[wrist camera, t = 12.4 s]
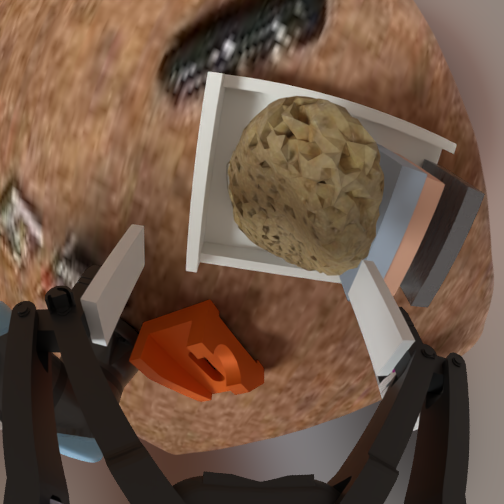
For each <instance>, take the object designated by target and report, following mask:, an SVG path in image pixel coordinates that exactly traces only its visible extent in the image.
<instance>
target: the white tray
mask: <svg viewBox="0 0 504 504" xmlns="http://www.w3.org/2000/svg"><path fill="white" fill-rule="evenodd" d="M293 96H306V97H312V98H316V99H318V98H320V99H325V100H329V101H330V102H332V103H334V104H337V105H340V106H342V107H345V108H346V110H347V111H348V112H349V114H350V115H351V116H352V117H354V118H357V119H358V120H359V121H360V123H361V124H362V126H363V127H364V128H365V129H366V131H367V132H368V133H369V134H370V135H371V137H372V138H373V139H374V140H375V141H376V143H377V144H379V145H382V146H383V147H385V148H387V149H388V150H390V151H392V152H394V153H397V154H400V155H401V156H403V157H405V158H406V159H408V160H410V161H411V162H413V163H414V164H416V165H417V166H419V167H421V168H422V165H423V162H424V159H426V160H429V161H431V162H434V163H436V164H437V163H438V160H439V157H440V154H441V151H442V149H444V150H446V151H448V152H451V153H453V154H454V152H455V149H456V146H457V144H455V143H453V142H451V141H449V140H447V139H445V138H443V137H441V136H439V135H437V134H435V133H432V132H430V131H428V130H426V129H424V128H421V127H419V126H417V125H414V124H412V123H409V122H407V121H405V120H402V119H400V118H397V117H394V116H392V115H389V114H386V113H384V112H381V111H378V110H375V109H373V108H370V107H367V106H364V105H361V104H358V103H354V102H351V101H348V100H345V99H341V98H338V97H334V96H331V95H327V94H324V93H320V92H316V91H312V90H308V89H304V88H300V87H295V86H291V85H286V84H281V83H276V82H271V81H266V80H260V79H254V78H248V77H241V76H234V75H227V74H223V73H215V72H208V76H207V82H206V88H205V94H204V100H203V107H202V113H201V120H200V127H199V135H198V142H197V150H196V159H195V167H194V176H193V186H192V196H191V206H190V218H189V230H188V243H187V258H186V271H190V272H196V273H197V270H198V266H199V263H200V262H203V263H209V264H215V265H221V266H228V267H234V268H240V269H247V270H253V271H260V272H266V273H273V274H280V275H286V276H293V277H300V278H307V279H314V280H321V281H328V282H335V283H341V280H340V277H339V275H337V276H327V275H326V274H325V273H319V272H318V271H317V270H314V271H307V270H305V269H303V268H301V267H298V266H297V265H294V264H290V263H288V262H286V261H285V260H284V259H283V258H281V257H277V256H275V255H274V254H272V253H270V252H268V251H266V250H264V249H263V248H261V247H259V246H257V245H256V244H254V243H253V242H252V241H250V240H249V239H248V238H247V236H246V235H245V234H244V233H243V232H242V231H241V230H240V229H239V228H238V225H237V224H236V223H235V221H234V217H233V207H232V203H231V199H230V197H229V193H228V189H227V179H226V165H227V163H228V162H229V161H230V159H231V156H232V153H233V151H235V149H236V146H237V144H238V143H239V140H240V138H241V135H242V132H243V129H244V128H245V127H246V126H247V125H248V124H249V122H250V121H251V120H252V119H253V118H254V117H255V116H256V115H257V114H258V113H260V112H261V111H262V110H263V109H265V108H266V107H267V106H268V104H270V103H272V102H273V101H275V100H277V99H280V98H285V97H293Z"/></svg>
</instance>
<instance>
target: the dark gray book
mask: <svg viewBox="0 0 504 504" xmlns="http://www.w3.org/2000/svg"><path fill="white" fill-rule="evenodd" d="M422 169H424V170H425V171H427V172H428V173H430V174H431V175H433V176H434V177H436V178H437V179H438V180H440V181H441V182H443V183H444V184H445V186H444V189H443V192H442V194H441V197H440V199H439V202H438V204H437V207H436V209H435V212H434V214H433V217H432V219H431V221H430V224H429V226H428V228H427V231H426V233H425V235H424V237H423V239H422V242H421V244H420V246H419V248H418V250H417V252H416V254H415V256H414V259H413V261H412V263H411V265H410V267H409V269H408V271H407V273H406V274H405V276H404V278H403V280H402V282H401V284H400V287H401V288H402V290H403V292H404V294H405V296H406V297H407V299H408V301H409V303H410V305H411V306H419V307H428V306H429V304H430V303H431V301H432V300H433V298H434V296H435V295H436V293H437V291H438V290H439V288H440V286H441V284H442V283H443V281H444V279H445V277H446V276H447V274H448V272H449V270H450V268H451V266H452V265H453V263H454V261H455V259H456V257H457V255H458V253H459V251H460V249H461V247H462V245H463V243H464V241H465V239H466V237H467V235H468V232H469V230H470V228H471V226H472V224H473V221H474V219H475V217H476V215H477V212H478V210H479V207H480V205H481V202H482V200H483V197H484V195H485V194H484V193H482V192H481V191H479V190H478V189H477V188H475V187H474V186H472V185H471V184H469V183H468V182H466V181H465V180H463V179H462V178H460V177H458V176H457V175H455V174H454V173H452V172H450V171H449V170H447V169H446V168H444V167H442V166H441V165H438V164H436V163H434V162H431V161H429V160H426V159H424V162H423V165H422Z"/></svg>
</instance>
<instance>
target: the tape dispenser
mask: <svg viewBox="0 0 504 504" xmlns="http://www.w3.org/2000/svg"><path fill="white" fill-rule="evenodd" d="M204 357H205V358H206V359H207V360H208V361H209V362H210V363H211V364H212V365H213V366H214V367H215V368H216V369H217V370H215V369H214V368H213V367H212V366H211V365H210V364H209V363H208V362H207V361H206V360H205V359H204ZM129 361H130V362H131V363H132V364H133V365H134V366H135V367H136V368H137V369H138V370H140V371H141V372H142V373H143V374H144V375H145V376H147V377H148V378H149V379H151V380H153V381H155V382H157V383H159V384H161V385H163V386H165V387H167V388H170V389H172V390H174V391H176V392H179V393H181V394H183V395H186V396H188V397H190V398H193V399H195V400H197V401H200V402H202V401H209V400H211V398H212V394H215V393H220V392H225V391H230V390H231V391H232V392H233V393H234V394H235V395H237V394H242V393H246V392H250V391H252V390H253V389H255V388H257V387H258V386H260V385H262V384H263V383H264V367H263V366H262V365H261V364H260V362H259V361H258V360H255V361H254V360H253V358H252V357H251V356H250V355H249V354H248V352H247V351H246V350H245V349H244V347H243V346H242V345H241V344H240V342H239V341H238V340H237V339H236V337H235V336H234V335H233V334H232V332H231V331H230V330H229V329H228V327H227V326H226V325H225V324H224V322H223V321H222V320H221V318H220V317H219V310H218V309H217V308H216V306H215V305H214V304H213V302H212V301H211V300H210V299H209V300H206V301H204V302H201V303H198V304H195V305H192V306H189V307H187V308H184V309H181V310H178V311H175V312H172V313H169V314H166V315H163V316H161V317H158V318H155V319H152V320H149V321H146V322H143V325H142V327H141V330H140V332H139V335H138V338H137V340H136V343H135V346H134V348H133V351H132V354H131V357H130V359H129Z"/></svg>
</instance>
